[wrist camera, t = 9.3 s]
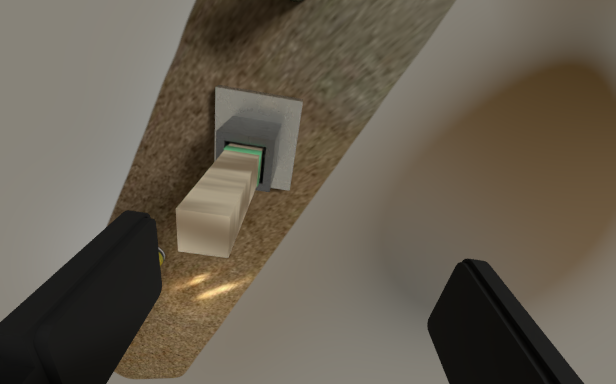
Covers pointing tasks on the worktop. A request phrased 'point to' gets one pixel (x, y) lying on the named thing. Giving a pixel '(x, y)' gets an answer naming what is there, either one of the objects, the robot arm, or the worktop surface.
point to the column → (219, 202)
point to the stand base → (260, 130)
